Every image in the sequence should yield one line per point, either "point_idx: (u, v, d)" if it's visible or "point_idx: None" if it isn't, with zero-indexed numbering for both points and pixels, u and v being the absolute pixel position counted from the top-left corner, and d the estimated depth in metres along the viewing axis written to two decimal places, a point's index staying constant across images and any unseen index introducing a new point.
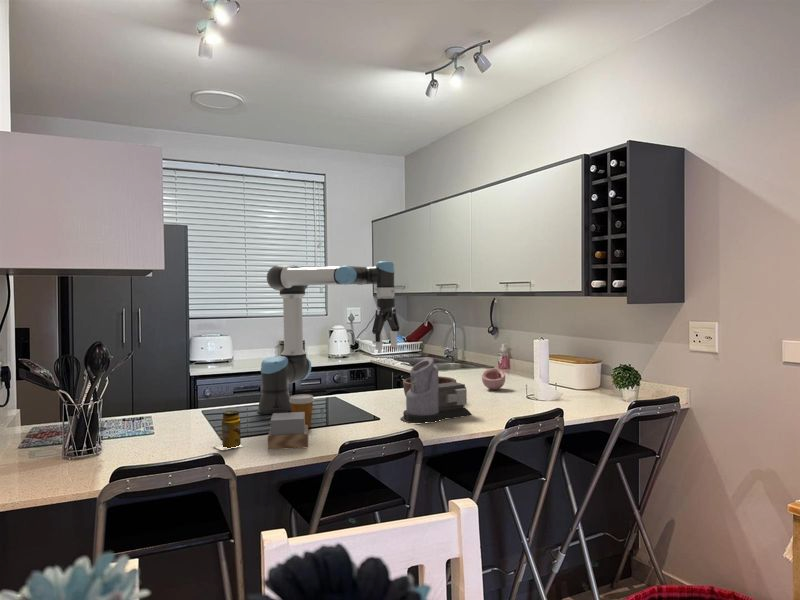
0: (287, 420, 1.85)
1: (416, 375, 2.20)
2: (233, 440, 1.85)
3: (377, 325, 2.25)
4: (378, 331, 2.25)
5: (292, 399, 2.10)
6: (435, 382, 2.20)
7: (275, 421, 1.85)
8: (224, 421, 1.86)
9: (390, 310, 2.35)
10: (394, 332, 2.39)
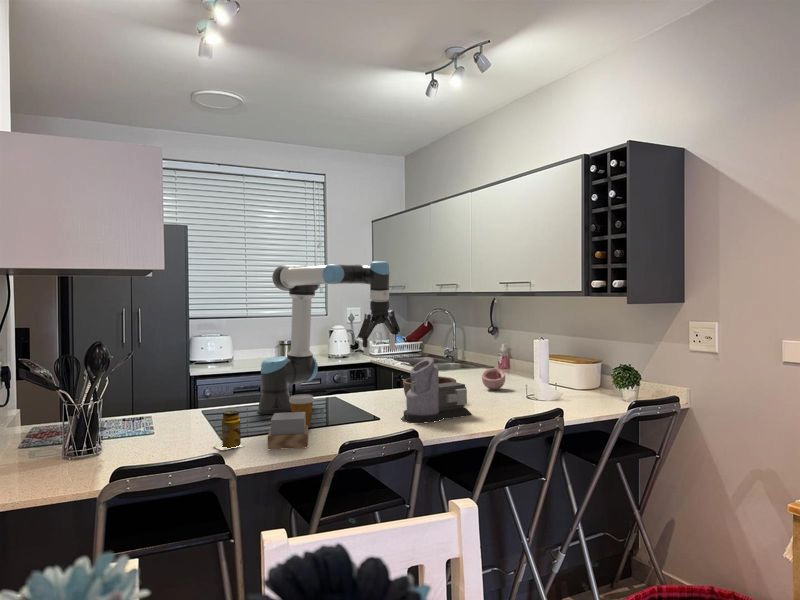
0: (287, 420, 1.86)
1: (416, 375, 2.20)
2: (233, 440, 1.85)
3: (363, 330, 2.14)
4: (363, 337, 2.14)
5: (292, 399, 2.10)
6: (435, 382, 2.20)
7: (275, 421, 1.85)
8: (224, 421, 1.86)
9: (385, 313, 2.21)
10: (392, 335, 2.26)
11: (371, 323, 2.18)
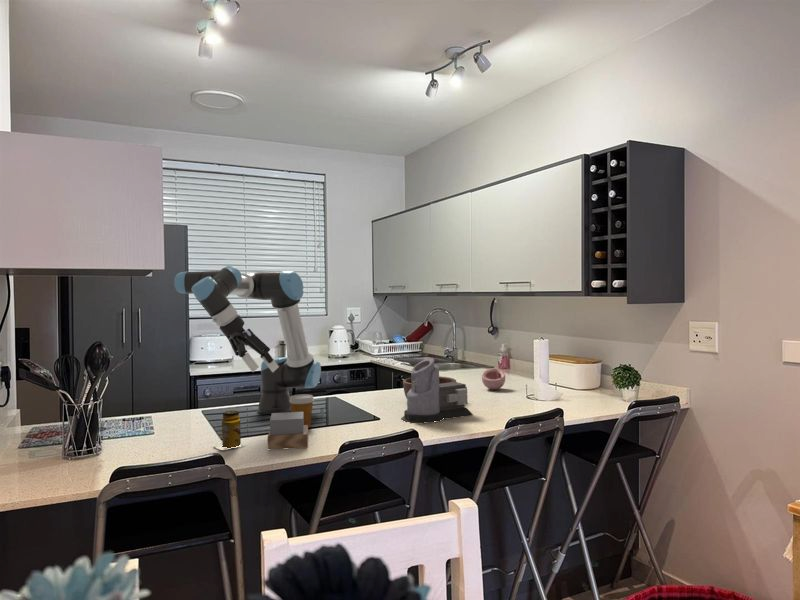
0: (286, 420, 1.86)
1: (417, 375, 2.20)
2: (233, 440, 1.85)
3: None
4: (236, 355, 1.91)
5: (292, 399, 2.10)
6: (436, 382, 2.20)
7: (274, 421, 1.85)
8: (224, 421, 1.86)
9: (238, 335, 1.80)
10: None
11: None
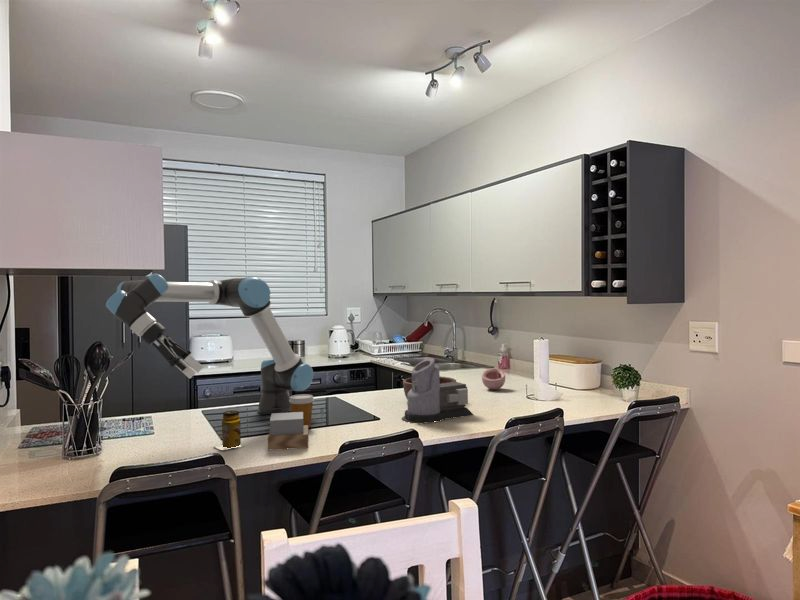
0: (286, 420, 1.85)
1: (417, 375, 2.20)
2: (233, 440, 1.85)
3: None
4: None
5: (292, 399, 2.10)
6: (436, 382, 2.20)
7: (274, 421, 1.85)
8: (224, 421, 1.86)
9: None
10: None
11: None
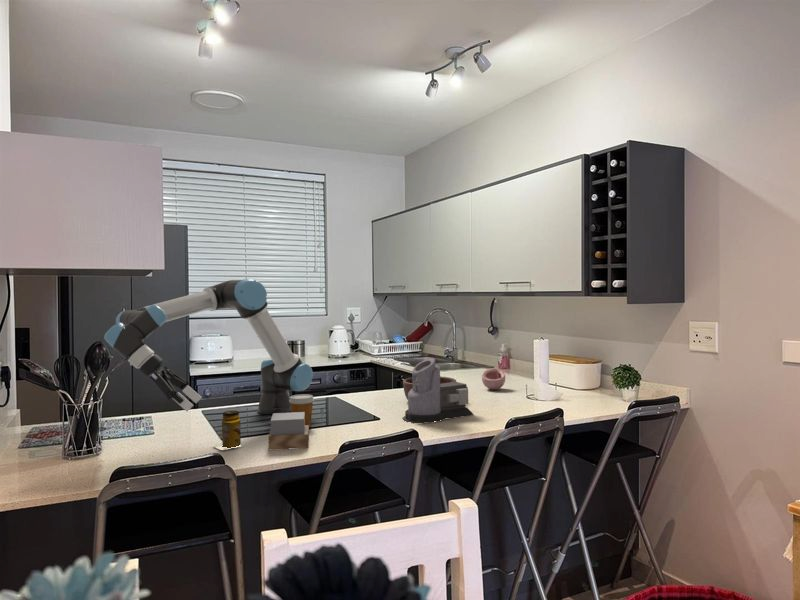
0: (287, 420, 1.85)
1: (418, 375, 2.20)
2: (233, 440, 1.85)
3: None
4: None
5: (292, 399, 2.10)
6: (437, 382, 2.20)
7: (275, 421, 1.85)
8: (224, 421, 1.86)
9: None
10: None
11: None
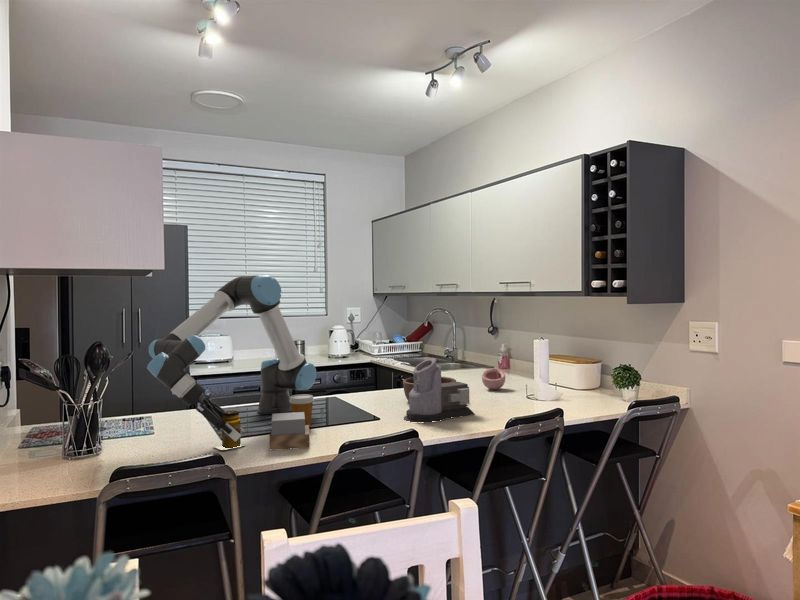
0: (288, 420, 1.85)
1: (419, 374, 2.21)
2: (233, 440, 1.85)
3: None
4: None
5: (292, 399, 2.10)
6: (438, 382, 2.21)
7: (276, 421, 1.84)
8: None
9: None
10: None
11: None
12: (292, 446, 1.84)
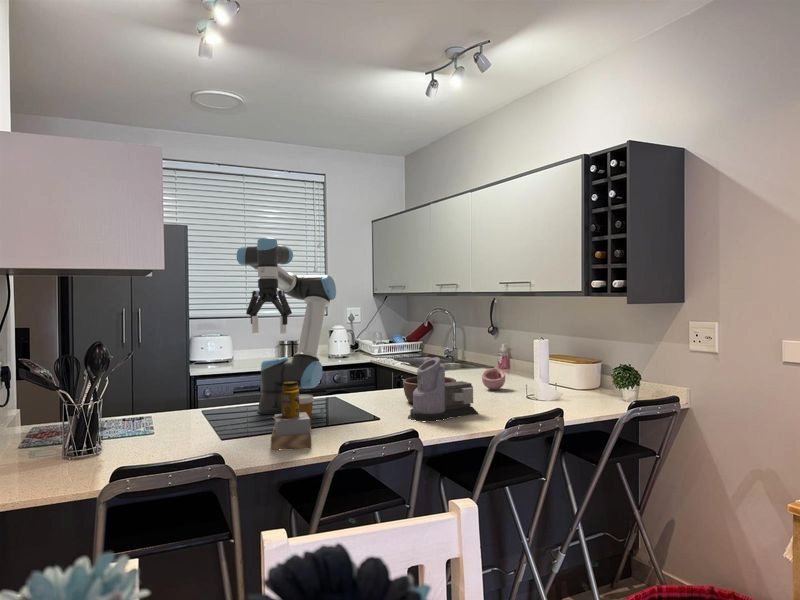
0: (293, 421, 1.85)
1: (423, 374, 2.22)
2: (294, 410, 1.87)
3: None
4: (247, 313, 2.16)
5: None
6: (441, 381, 2.22)
7: (281, 422, 1.84)
8: (285, 391, 1.87)
9: (270, 292, 2.11)
10: None
11: None
12: (294, 447, 1.84)
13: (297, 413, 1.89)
